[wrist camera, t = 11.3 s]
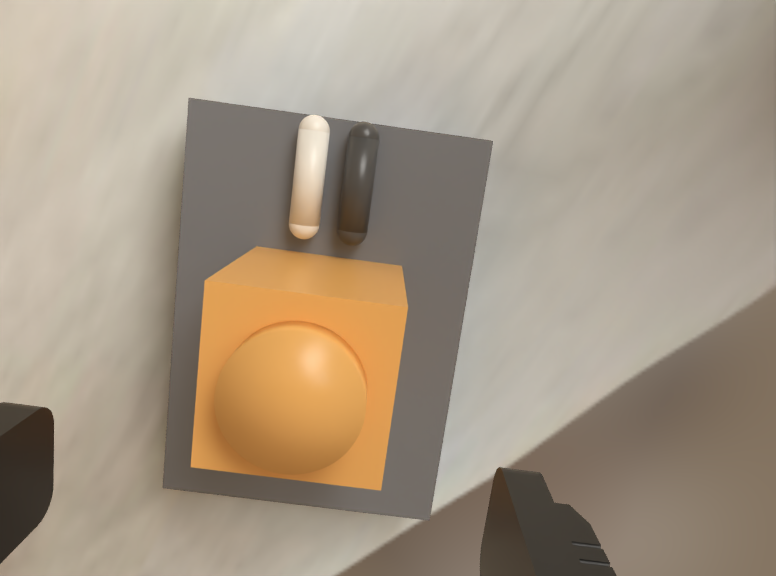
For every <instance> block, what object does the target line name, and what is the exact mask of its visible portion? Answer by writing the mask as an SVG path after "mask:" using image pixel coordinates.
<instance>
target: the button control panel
mask: <svg viewBox="0 0 776 576" xmlns="http://www.w3.org/2000/svg"><path fill="white" fill-rule="evenodd" d="M492 145H493V141H490V140H483V139H476V138H469V137H462V136H455V135H448V134H441V133H434V132H427V131H419V130H412V129H405V128H398V127H391V126H384V125H377V124H370V123H368V122H356V121H349V120H342V119H335V118H328V117H321V116H318V115H306V114H299V113H292V112H285V111H278V110H271V109H264V108H257V107H250V106H243V105H236V104H229V103H222V102H215V101H208V100H201V99H194V98H189V102H188V117H187V132H186V147H185V162H184V177H183V192H182V207H181V222H180V237H179V252H178V267H177V282H176V297H175V312H174V327H173V342H172V357H171V372H170V388H169V403H168V418H167V433H166V448H165V463H164V478H163V488H167V489H175V490H183V491H191V492H200V493H208V494H216V495H224V496H232V497H241V498H249V499H257V500H265V501H273V502H282V503H290V504H298V505H306V506H314V507H322V508H331V509H339V510H347V511H355V512H363V513H372V514H380V515H388V516H396V517H404V518H412V519H421V520H430V514H431V508H432V502H433V496H434V490H435V484H436V478H437V472H438V466H439V460H440V455H441V449H442V443H443V437H444V431H445V425H446V419H447V413H448V407H449V401H450V395H451V389H452V383H453V377H454V371H455V365H456V359H457V353H458V347H459V341H460V335H461V329H462V323H463V317H464V311H465V306H466V300H467V294H468V288H469V282H470V276H471V270H472V264H473V258H474V252H475V246H476V240H477V234H478V228H479V222H480V216H481V210H482V204H483V198H484V192H485V186H486V180H487V174H488V168H489V162H490V156H491V151H492ZM256 246H258V247H266V248H273V249H280V250H288V251H295V252H303V253H310V254H318V255H325V256H333V257H340V258H347V259H355V260H362V261H370V262H377V263H385V264H392V265H399V266H402V269H403V276H404V283H405V290H406V296H407V303H408V311H407V318H406V325H405V332H404V338H403V345H402V352H401V359H400V366H399V372H398V379H397V386H396V393H395V399H394V406H393V413H392V420H391V427H390V433H389V440H388V447H387V454H386V460H385V467H384V474H383V481H382V488H381V491H380V490H372V489H364V488H355V487H347V486H339V485H331V484H323V483H315V482H307V481H299V480H290V479H282V478H274V477H266V476H258V475H250V474H242V473H234V472H226V471H217V470H209V469H201V468H193V467H191V455H192V441H193V428H194V415H195V402H196V389H197V376H198V362H199V349H200V336H201V323H202V310H203V297H204V283H205V280H206V279H208V278H209V277H211V276H212V275H214V274H215V273H217V272H218V271H220V270H221V269H223V268H224V267H226V266H227V265H229V264H230V263H232V262H233V261H235V260H236V259H238V258H239V257H241V256H243V255H244V254H246V253H247V252H249V251H250V250H252V249H253V248H255V247H256Z"/></svg>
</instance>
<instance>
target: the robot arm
mask: <svg viewBox="0 0 776 576" xmlns="http://www.w3.org/2000/svg"><path fill="white" fill-rule="evenodd" d="M53 468H54V419H53V415H52V412H51V411H50V410H49V409H48V408H45V407H37V406H30V405H22V404H14V403H6V402H3V403H0V564H1V563H2V561H3V560H4V559H5V558H6V557H7V556H8V555H9V554H10V553H11V552H12V551H13V550H14V549H15V548H16V547H17V546H18V545H19V544H20V543H21V542H22V541H23V540H24V539H25V538H26V537H27V536H28V535H29V534H30V533H31V532H32V531H33V530H34V529H35V528H36V527H37V526H38V524H39V523H40V522H41V521H42V519H43V517H44V516H45V514H46V512H47V510H48V507H49V505H50V502H51V498H52V493H53ZM480 576H616V574H615V572H614V570H613V568H612V567H610V562H609V560H608V558H607V556H606V554H605V553H604V550H603V549H601V545H600V543H599V541H598V539H597V537H596V535H595V533H594V531H593V529H592V527H591V525H590V524H589V523H588V522H587V521H586V520H585V519H584V518H583V517H582V516H581V515H580V514H578V513H577V512H576V511H575V510H574V509H573V508H572V507H571V506H570V505H567V504H559V503H554V501H553V499H552V497H551V494H550V492H549V490H548V487H547V485H546V483H545V481H544V478H543V476H542V474H541V473H539V472H532V471H524V470H516V469H509V468H501V467H499V468H498V469H497V470H496V473H495V476H494V480H493V486H492V491H491V496H490V502H489V507H488V513H487V518H486V523H485V528H484V534H483V539H482V545H481V554H480Z"/></svg>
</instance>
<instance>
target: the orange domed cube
mask: <svg viewBox="0 0 776 576" xmlns="http://www.w3.org/2000/svg"><path fill="white" fill-rule="evenodd" d="M407 311H408V303H407V296H406V290H405V283H404V276H403V269H402V266H399V265H392V264H385V263H377V262H370V261H362V260H355V259H347V258H340V257H333V256H325V255H318V254H310V253H303V252H295V251H288V250H280V249H273V248H266V247H258V246H256V247H255V248H253V249H252V250H250V251H249V252H247V253H246V254H244V255H243V256H241V257H239V258H238V259H236V260H235V261H233V262H232V263H230V264H229V265H227V266H226V267H224V268H223V269H221V270H220V271H218V272H217V273H215V274H214V275H212V276H211V277H209V278H208V279H206V280H205V283H204V297H203V310H202V323H201V336H200V349H199V362H198V376H197V389H196V402H195V415H194V428H193V441H192V455H191V467H193V468H201V469H209V470H217V471H226V472H234V473H242V474H250V475H258V476H266V477H274V478H282V479H290V480H299V481H307V482H315V483H323V484H331V485H339V486H347V487H355V488H364V489H372V490H380V491H381V488H382V481H383V474H384V467H385V460H386V454H387V447H388V440H389V433H390V427H391V420H392V413H393V406H394V399H395V393H396V386H397V379H398V372H399V366H400V359H401V352H402V345H403V338H404V332H405V325H406V318H407Z"/></svg>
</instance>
